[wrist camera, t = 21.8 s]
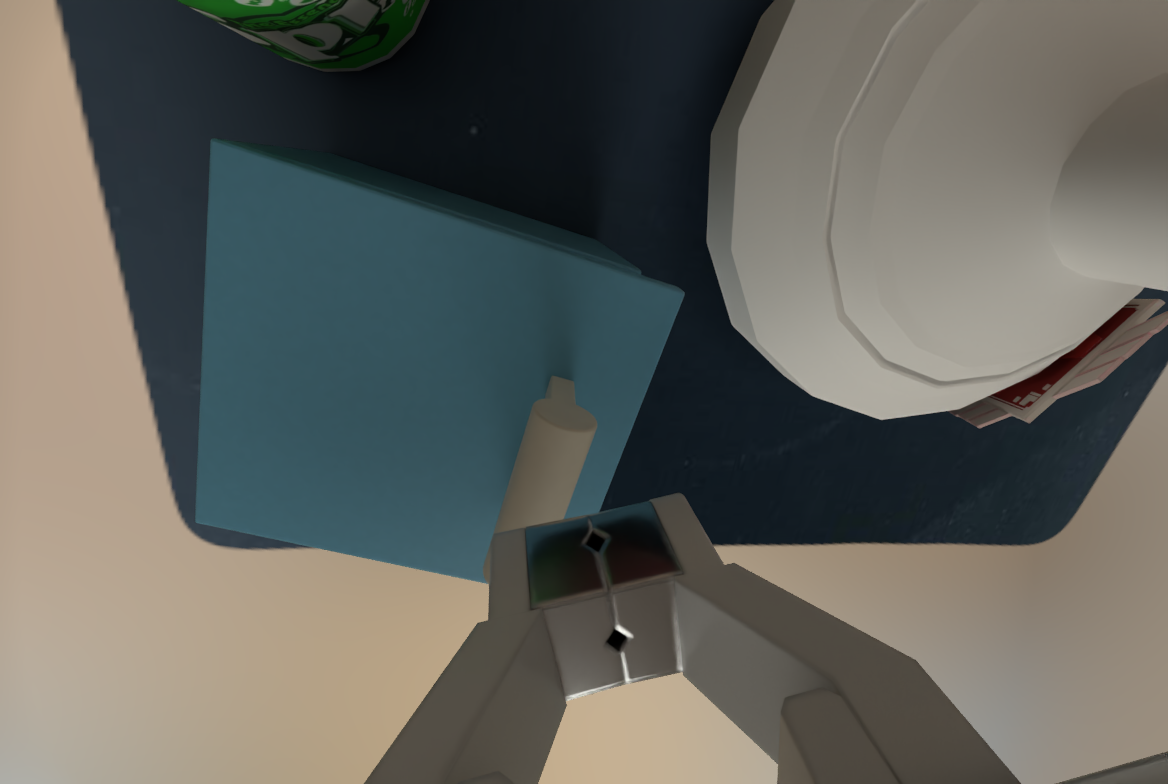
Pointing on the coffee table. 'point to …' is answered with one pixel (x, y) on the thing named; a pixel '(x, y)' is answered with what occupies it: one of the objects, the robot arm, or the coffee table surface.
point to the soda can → (321, 28)
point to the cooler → (451, 203)
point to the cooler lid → (405, 369)
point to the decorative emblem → (1072, 366)
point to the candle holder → (939, 190)
